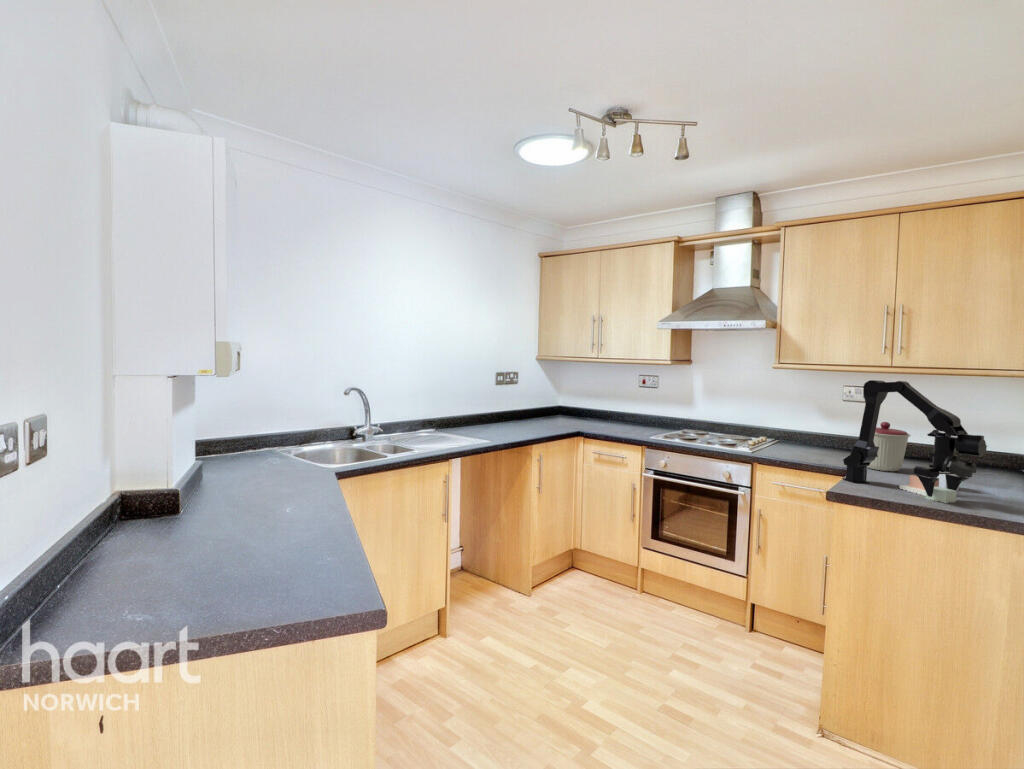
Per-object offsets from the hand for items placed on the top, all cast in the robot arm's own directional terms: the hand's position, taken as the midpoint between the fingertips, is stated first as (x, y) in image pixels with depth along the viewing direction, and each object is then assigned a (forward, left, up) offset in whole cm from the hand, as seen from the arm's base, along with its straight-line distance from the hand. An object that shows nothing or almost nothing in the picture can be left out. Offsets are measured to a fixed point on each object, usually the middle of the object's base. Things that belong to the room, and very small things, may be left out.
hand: (940, 496), depth 180 cm
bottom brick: (+5, +10, 0) cm, 11 cm away
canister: (+28, +47, -2) cm, 55 cm away
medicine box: (+22, +15, -2) cm, 27 cm away
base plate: (+5, +10, -1) cm, 11 cm away
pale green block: (0, 0, -2) cm, 2 cm away
